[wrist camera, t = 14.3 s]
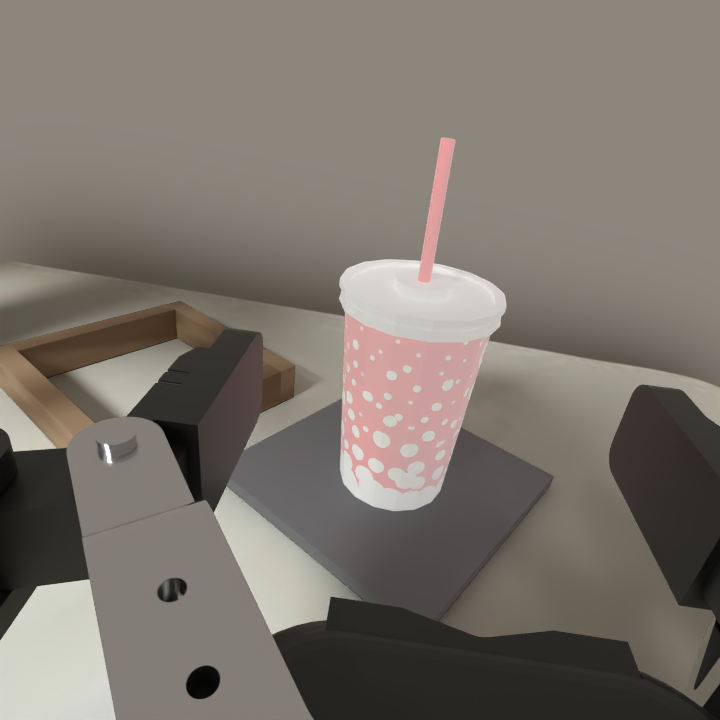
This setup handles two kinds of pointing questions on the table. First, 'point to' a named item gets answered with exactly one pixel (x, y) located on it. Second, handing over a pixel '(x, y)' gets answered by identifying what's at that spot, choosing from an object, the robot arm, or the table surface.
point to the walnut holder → (107, 340)
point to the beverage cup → (410, 365)
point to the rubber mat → (388, 513)
